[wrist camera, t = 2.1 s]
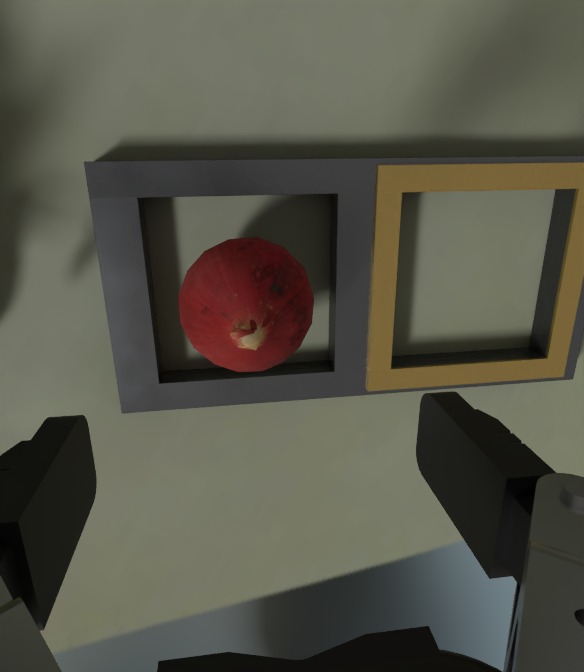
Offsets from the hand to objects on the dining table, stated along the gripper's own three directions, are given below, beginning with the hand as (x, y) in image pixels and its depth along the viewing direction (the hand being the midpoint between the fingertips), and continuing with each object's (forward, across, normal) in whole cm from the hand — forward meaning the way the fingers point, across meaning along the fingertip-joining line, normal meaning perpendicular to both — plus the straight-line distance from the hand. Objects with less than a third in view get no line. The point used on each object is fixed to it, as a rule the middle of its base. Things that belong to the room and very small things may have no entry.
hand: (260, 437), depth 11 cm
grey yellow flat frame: (+14, -6, -1) cm, 15 cm away
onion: (+14, 0, 0) cm, 14 cm away
